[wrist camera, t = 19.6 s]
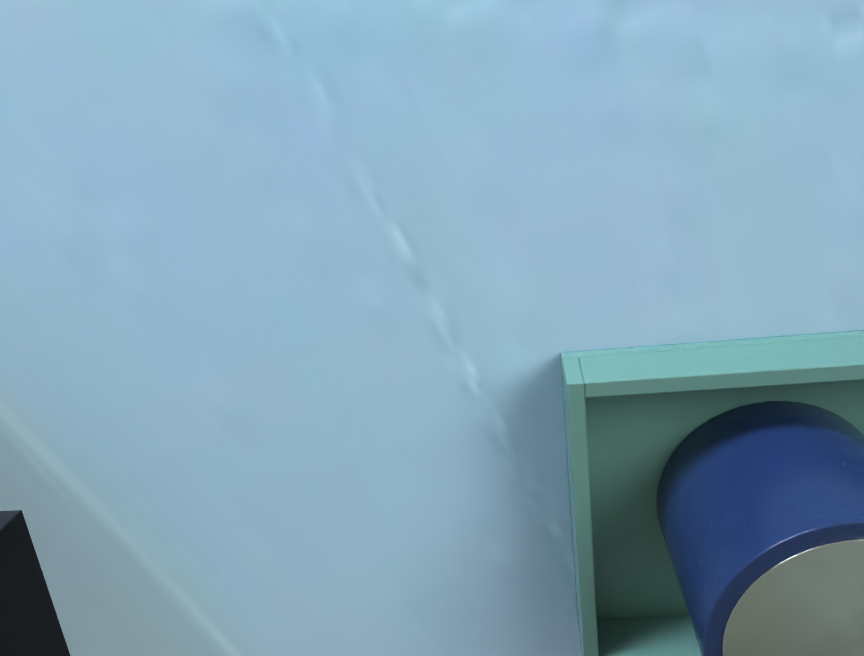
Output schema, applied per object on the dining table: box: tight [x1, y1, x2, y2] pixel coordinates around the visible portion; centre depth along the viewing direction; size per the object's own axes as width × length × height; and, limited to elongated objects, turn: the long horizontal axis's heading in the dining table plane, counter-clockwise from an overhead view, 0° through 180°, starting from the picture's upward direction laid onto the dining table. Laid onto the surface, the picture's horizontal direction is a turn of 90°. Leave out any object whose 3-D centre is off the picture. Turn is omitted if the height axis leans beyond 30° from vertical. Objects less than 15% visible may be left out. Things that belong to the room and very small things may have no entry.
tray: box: [561, 330, 864, 656], centre depth 37 cm, size 20×17×4 cm
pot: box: [656, 401, 864, 656], centre depth 33 cm, size 10×11×11 cm
